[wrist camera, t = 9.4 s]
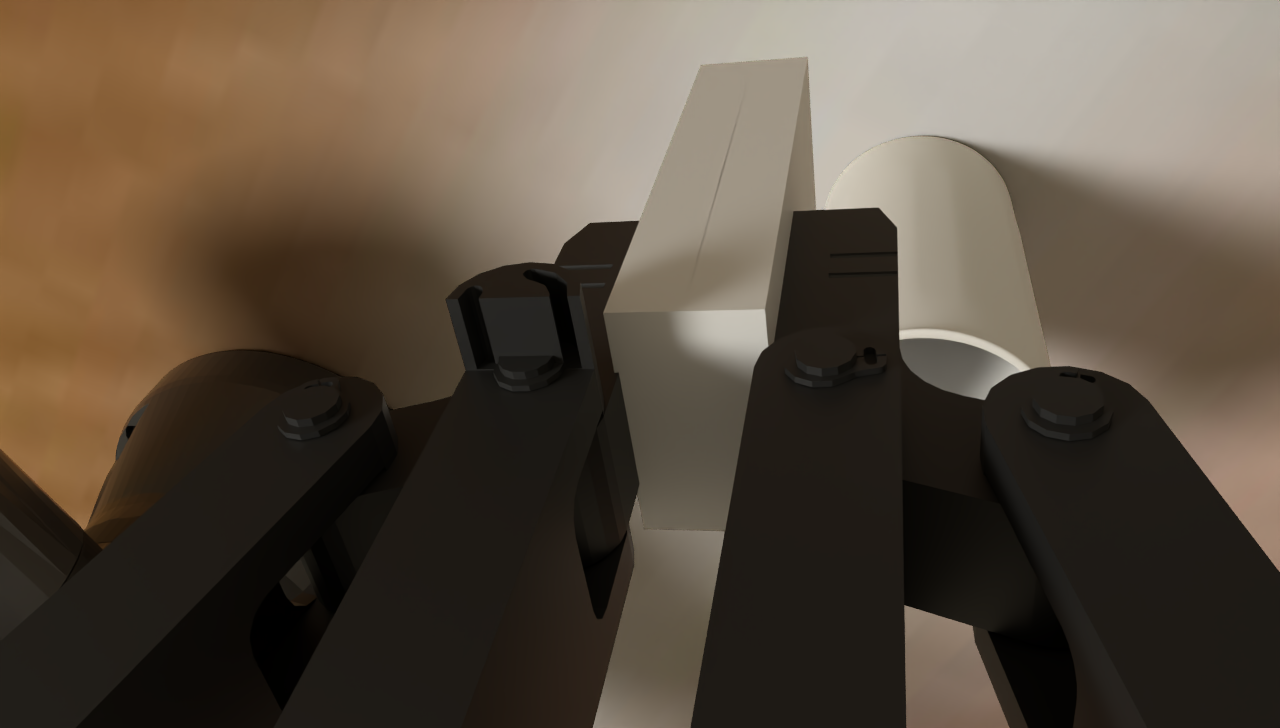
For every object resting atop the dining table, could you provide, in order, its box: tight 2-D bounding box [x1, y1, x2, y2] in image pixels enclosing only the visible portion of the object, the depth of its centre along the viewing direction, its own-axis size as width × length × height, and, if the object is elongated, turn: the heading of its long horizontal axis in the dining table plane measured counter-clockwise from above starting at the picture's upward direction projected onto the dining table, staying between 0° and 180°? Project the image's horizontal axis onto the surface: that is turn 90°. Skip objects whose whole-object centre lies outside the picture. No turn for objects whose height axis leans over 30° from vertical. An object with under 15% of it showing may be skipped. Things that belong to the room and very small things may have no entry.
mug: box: [824, 136, 1051, 400], centre depth 33 cm, size 10×7×12 cm, turn 0°
